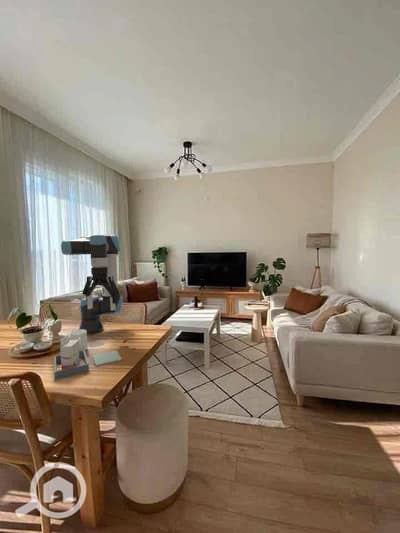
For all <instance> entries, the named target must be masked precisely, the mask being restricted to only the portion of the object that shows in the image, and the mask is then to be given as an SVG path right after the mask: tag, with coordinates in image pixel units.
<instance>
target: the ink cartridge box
mask: <svg viewBox="0 0 400 533" xmlns="http://www.w3.org/2000/svg"><path fill="white" fill-rule="evenodd" d="M59 349H60V355H61V362H60V365H61V370H63V369H67V368H71V367H76V366H79V364H80V363H81V361H80V358H79V340H70V333H69V334H67V335H66V336H64V337H63V338H62V339H60V348H59Z"/></svg>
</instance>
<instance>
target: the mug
mask: <svg viewBox="0 0 400 533" xmlns="http://www.w3.org/2000/svg"><path fill="white" fill-rule="evenodd" d="M69 340H79V351H82V350H85V351H86V350H88V334H87V331H86V330H84V329H81V330H79V329H76V330H72V331H70V332H69Z"/></svg>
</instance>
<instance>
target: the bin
mask: <svg viewBox="0 0 400 533" xmlns="http://www.w3.org/2000/svg"><path fill="white" fill-rule="evenodd" d="M81 358H83V361H84V364H80V365H77V366H76V367H71V368H67V369H63V370H62V369H61V370H60V369H58V370H57V364H59V363H60V364H61V354H58V355H54V356H53V365H54V366H53V371H54V374H53V375H54V381H56V380H61V379H65V378H68V377H69V378H70V377H73V376H76V375H80V374H85V373H89V372H90V366H89V365H90V364H89V360H88V357H87V354H86V350H82V351H79V359H81Z"/></svg>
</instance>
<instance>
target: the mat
mask: <svg viewBox="0 0 400 533" xmlns="http://www.w3.org/2000/svg"><path fill="white" fill-rule="evenodd" d="M91 358H92V359H93V362H94V366H95V367H96V368H97V367H100V366H105V365H108V364H113V363H117V362H121V361H122V360H123V359H122V357H121V355H120V353H119V352H118V351H117V350H113V351H108V352H103V353H99V354H94V355H92V356H91Z"/></svg>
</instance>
